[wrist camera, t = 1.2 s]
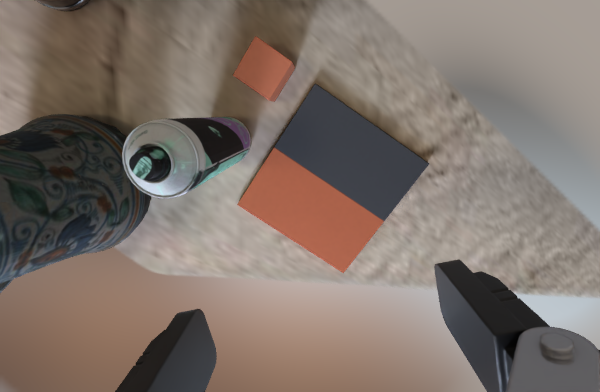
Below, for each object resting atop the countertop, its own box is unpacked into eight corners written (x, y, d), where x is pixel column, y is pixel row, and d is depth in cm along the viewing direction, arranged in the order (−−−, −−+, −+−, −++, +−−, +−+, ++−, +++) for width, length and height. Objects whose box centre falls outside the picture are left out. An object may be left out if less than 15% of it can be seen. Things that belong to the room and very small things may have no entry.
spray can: (254, 122, 39) (191, 130, 19) (247, 167, 40) (180, 218, 21) (209, 112, 39) (99, 111, 19) (203, 158, 40) (95, 199, 21)
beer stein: (149, 115, 39) (-126, 118, 15) (163, 265, 44) (-28, 454, 20) (16, 113, 40) (-452, 112, 16) (44, 260, 45) (-282, 436, 20)
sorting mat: (238, 203, 41) (237, 204, 41) (315, 83, 37) (315, 83, 37) (343, 271, 43) (343, 273, 42) (427, 163, 39) (429, 163, 38)
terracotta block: (242, 79, 38) (232, 75, 33) (262, 44, 37) (255, 35, 32) (274, 101, 38) (269, 100, 34) (295, 67, 37) (292, 61, 33)
